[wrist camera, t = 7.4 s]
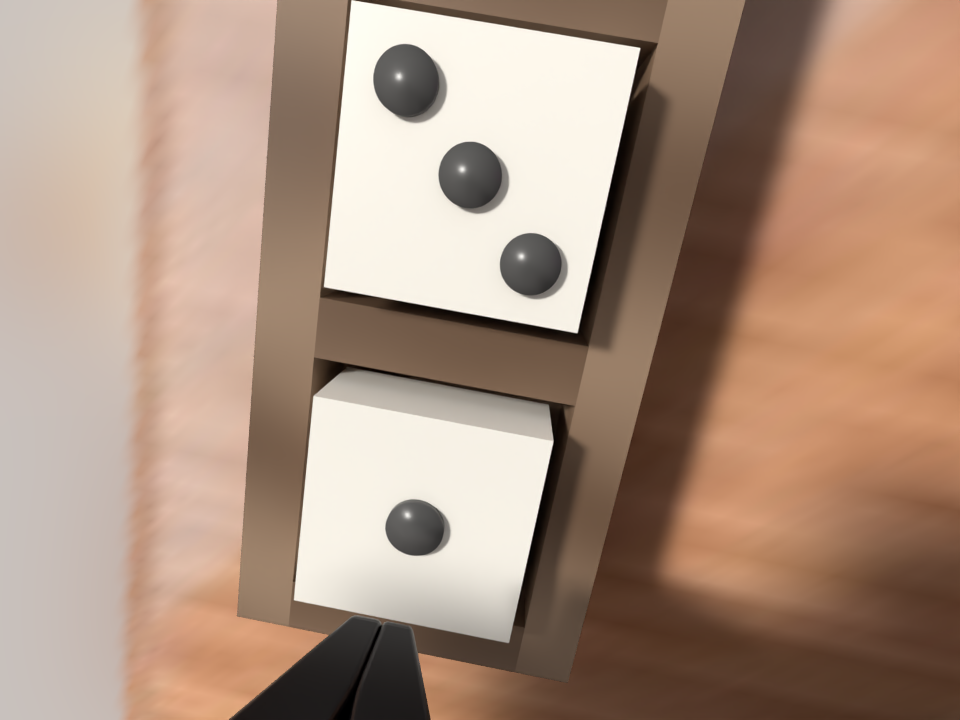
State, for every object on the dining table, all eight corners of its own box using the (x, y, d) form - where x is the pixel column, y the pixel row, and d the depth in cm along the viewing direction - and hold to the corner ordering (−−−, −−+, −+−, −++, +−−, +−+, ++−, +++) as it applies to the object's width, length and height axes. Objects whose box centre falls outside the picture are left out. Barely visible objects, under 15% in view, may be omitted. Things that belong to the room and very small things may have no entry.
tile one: (511, 580, 13) (508, 649, 11) (327, 543, 13) (290, 605, 11) (548, 404, 12) (553, 444, 10) (347, 366, 12) (309, 398, 10)
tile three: (568, 313, 11) (578, 334, 9) (357, 275, 12) (320, 288, 9) (618, 79, 10) (642, 44, 8) (383, 40, 10) (348, -5, 8)
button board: (559, 594, 15) (567, 682, 12) (290, 541, 16) (237, 616, 13) (791, -361, 10) (900, -594, 7) (378, -420, 10) (320, -669, 7)
